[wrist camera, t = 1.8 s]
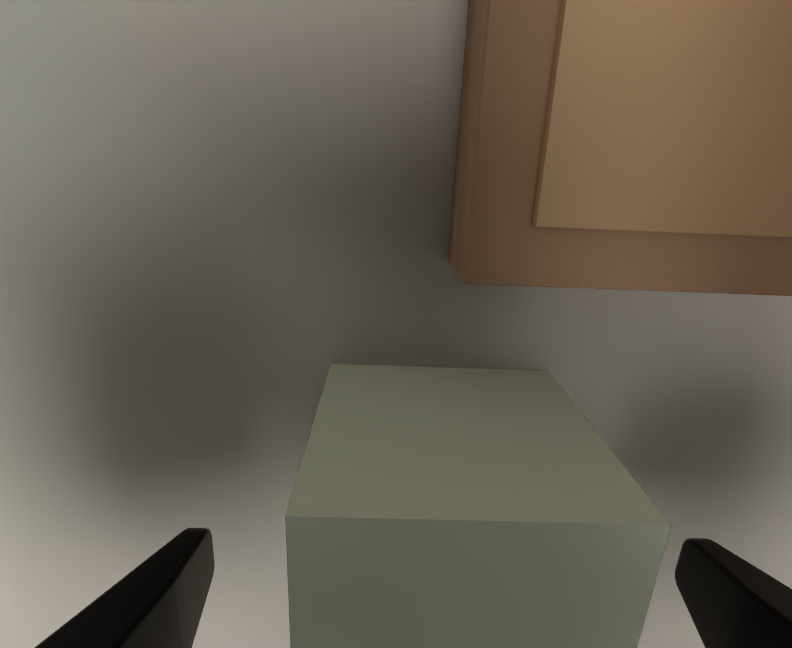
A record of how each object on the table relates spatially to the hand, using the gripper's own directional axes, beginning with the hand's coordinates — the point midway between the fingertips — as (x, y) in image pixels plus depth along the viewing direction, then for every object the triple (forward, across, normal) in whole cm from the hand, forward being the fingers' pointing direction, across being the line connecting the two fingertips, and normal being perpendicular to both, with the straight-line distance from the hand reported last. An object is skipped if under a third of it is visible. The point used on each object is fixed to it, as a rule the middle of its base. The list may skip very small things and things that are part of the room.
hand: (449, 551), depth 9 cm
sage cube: (+3, 0, 0) cm, 3 cm away
